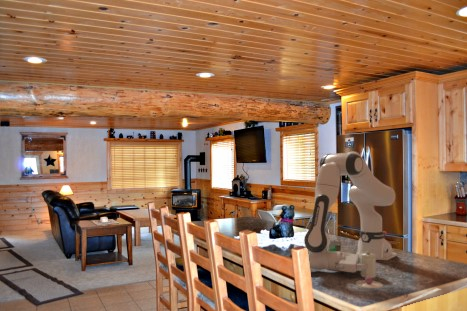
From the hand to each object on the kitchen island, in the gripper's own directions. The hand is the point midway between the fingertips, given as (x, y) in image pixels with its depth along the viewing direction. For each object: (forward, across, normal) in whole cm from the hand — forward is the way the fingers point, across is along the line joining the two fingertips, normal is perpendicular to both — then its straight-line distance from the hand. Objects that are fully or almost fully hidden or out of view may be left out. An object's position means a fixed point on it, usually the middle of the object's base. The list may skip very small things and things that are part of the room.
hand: (368, 264), depth 182 cm
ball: (+1, -12, +5) cm, 13 cm away
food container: (-21, +29, +6) cm, 37 cm away
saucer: (+1, -12, +6) cm, 14 cm away
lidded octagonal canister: (0, 0, +6) cm, 6 cm away
